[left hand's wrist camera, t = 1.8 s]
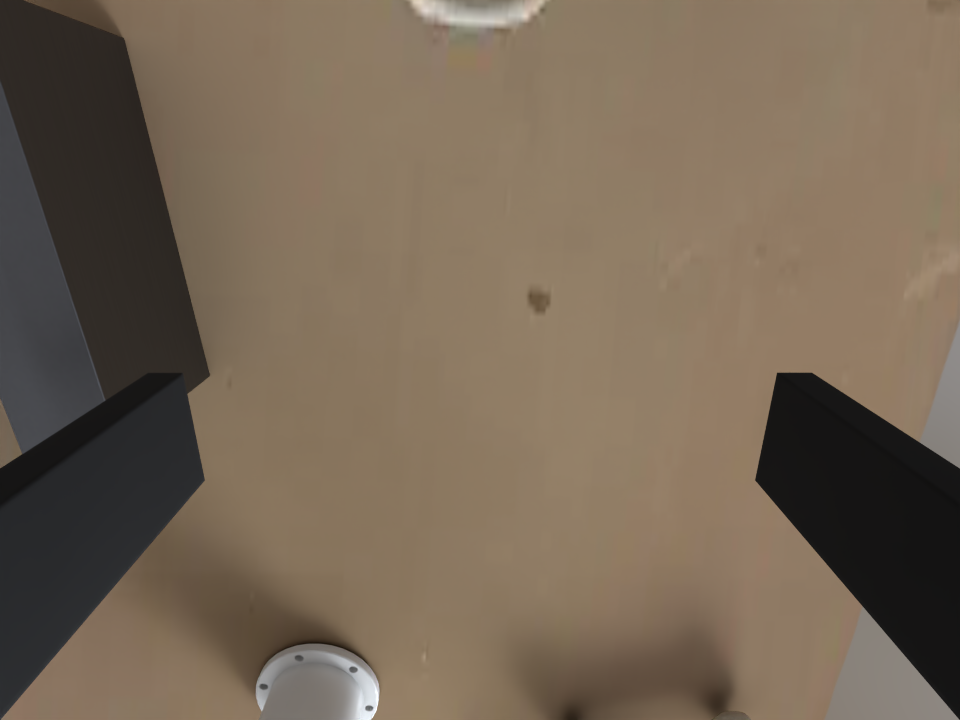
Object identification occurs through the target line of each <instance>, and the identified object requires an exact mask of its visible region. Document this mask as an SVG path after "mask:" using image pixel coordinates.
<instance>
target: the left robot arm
mask: <svg viewBox="0 0 960 720" xmlns="http://www.w3.org/2000/svg"><path fill="white" fill-rule="evenodd" d="M204 481H205V479H204V474H203V469H202V464H201V459H200V455H199V450H198V445H197V440H196V435H195V430H194V425H193V420H192V415H191V410H190V406H189V401H188V396H187V391H186V386H185V381H184V376H183V373H147V374H145V375H144V376H142V377H141V378H139V379H138V380H136V381H135V382H133V383H132V384H130V385H129V386H127V387H125V388H124V389H122V390H121V391H119V392H118V393H116V394H115V395H113V396H112V397H110V398H108V399H107V400H105V401H104V402H102V403H101V404H99V405H98V406H96V407H95V408H93V409H91V410H90V411H88V412H87V413H85V414H84V415H82V416H81V417H79V418H78V419H76V420H75V421H73V422H71V423H70V424H68V425H67V426H65V427H64V428H62V429H61V430H59V431H58V432H56V433H54V434H53V435H51V436H50V437H48V438H47V439H45V440H44V441H42V442H41V443H39V444H37V445H36V446H34V447H33V448H31V449H30V450H28V451H27V452H25V453H24V454H22V455H20V456H19V457H17V458H16V459H14V460H13V461H11V462H10V463H8V464H7V465H5V466H4V467H2V468H0V720H1V718H2V717H3V716H4V715H5V714H6V713H7V711H8V710H9V709H10V708H11V707H12V706H13V704H14V703H15V702H16V701H17V700H18V698H19V697H20V696H21V695H22V694H23V693H24V691H25V690H26V689H27V688H28V687H29V686H30V684H31V683H32V682H33V681H34V680H35V679H36V677H37V676H38V675H39V674H40V673H41V672H42V670H43V669H44V668H45V667H46V666H47V665H48V663H49V662H50V661H51V660H52V659H53V657H54V656H55V655H56V654H57V653H58V652H59V650H60V649H61V648H62V647H63V646H64V645H65V643H66V642H67V641H68V640H69V639H70V638H71V636H72V635H73V634H74V633H75V632H76V631H77V629H78V628H79V627H80V626H81V625H82V624H83V622H84V621H85V620H86V619H87V618H88V616H89V615H90V614H91V613H92V612H93V611H94V609H95V608H96V607H97V606H98V605H99V604H100V602H101V601H102V600H103V599H104V598H105V597H106V595H107V594H108V593H109V592H110V591H111V590H112V588H113V587H114V586H115V585H116V584H117V582H118V581H119V580H120V579H121V578H122V577H123V575H124V574H125V573H126V572H127V571H128V570H129V568H130V567H131V566H132V565H133V564H134V563H135V561H136V560H137V559H138V558H139V557H140V556H141V554H142V553H143V552H144V551H145V550H146V549H147V547H148V546H149V545H150V544H151V543H152V541H153V540H154V539H155V538H156V537H157V536H158V534H159V533H160V532H161V531H162V530H163V529H164V527H165V526H166V525H167V524H168V523H169V522H170V520H171V519H172V518H173V517H174V516H175V515H176V513H177V512H178V511H179V510H180V509H181V508H182V506H183V505H184V504H185V503H186V502H187V500H188V499H189V498H190V497H191V496H192V495H193V493H194V492H195V491H196V490H197V489H198V488H199V486H200V485H201V484H202V483H203V482H204ZM755 481H756V482H757V483H758V484H759V485H760V486H761V488H762V489H763V490H764V491H765V492H766V493H767V495H768V496H769V497H770V498H771V499H772V500H773V502H774V503H775V504H776V505H777V506H778V508H779V509H780V510H781V511H782V512H783V513H784V515H785V516H786V517H787V518H788V519H789V520H790V522H791V523H792V524H793V525H794V526H795V527H796V529H797V530H798V531H799V532H800V533H801V534H802V536H803V537H804V538H805V539H806V540H807V541H808V543H809V544H810V545H811V546H812V547H813V549H814V550H815V551H816V552H817V553H818V554H819V556H820V557H821V558H822V559H823V560H824V561H825V563H826V564H827V565H828V566H829V567H830V568H831V570H832V571H833V572H834V573H835V574H836V575H837V577H838V578H839V579H840V580H841V581H842V582H843V584H844V585H845V586H846V587H847V588H848V590H849V591H850V592H851V593H852V594H853V595H854V597H855V598H856V599H857V600H858V601H859V602H860V604H861V605H862V606H863V607H864V608H865V609H866V611H867V612H868V613H869V614H870V615H871V616H872V618H873V619H874V620H875V621H876V622H877V623H878V625H879V626H880V627H881V628H882V629H883V631H884V632H885V633H886V634H887V635H888V636H889V638H890V639H891V640H892V641H893V642H894V643H895V645H896V646H897V647H898V648H899V649H900V650H901V652H902V653H903V654H904V655H905V656H906V657H907V659H908V660H909V661H910V662H911V663H912V665H913V666H914V667H915V668H916V669H917V670H918V672H919V673H920V674H921V675H922V676H923V677H924V679H925V680H926V681H927V682H928V683H929V684H930V686H931V687H932V688H933V689H934V690H935V691H936V693H937V694H938V695H939V696H940V697H941V698H942V700H943V701H944V702H945V703H946V704H947V706H948V707H949V708H950V709H951V710H952V711H953V713H954V714H955V715H956V716H957V717H958V718H959V720H960V468H958V467H956V466H955V465H953V464H952V463H950V462H949V461H947V460H946V459H944V458H943V457H941V456H939V455H938V454H936V453H935V452H933V451H932V450H930V449H929V448H927V447H926V446H924V445H923V444H921V443H919V442H918V441H916V440H915V439H913V438H912V437H910V436H909V435H907V434H906V433H904V432H902V431H901V430H899V429H898V428H896V427H895V426H893V425H892V424H890V423H889V422H887V421H885V420H884V419H882V418H881V417H879V416H878V415H876V414H875V413H873V412H872V411H870V410H869V409H867V408H865V407H864V406H862V405H861V404H859V403H858V402H856V401H855V400H853V399H852V398H850V397H848V396H847V395H845V394H844V393H842V392H841V391H839V390H838V389H836V388H835V387H833V386H831V385H830V384H828V383H827V382H825V381H824V380H822V379H821V378H819V377H818V376H816V375H814V374H813V373H777V376H776V381H775V386H774V391H773V396H772V401H771V406H770V410H769V415H768V420H767V425H766V430H765V435H764V440H763V445H762V450H761V455H760V459H759V464H758V469H757V474H756V479H755Z"/></svg>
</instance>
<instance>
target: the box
mask: <svg viewBox="0 0 960 720" xmlns="http://www.w3.org/2000/svg"><path fill="white" fill-rule="evenodd" d="M147 373H183V376H184V381H185V386H186V391H187V394H188V393H189V392H190V391H192V390H193V389H194V388H195V387H197V386H198V385H199V384H200V383H202V382H203V381H204V380H205V379H207V378H208V377H209V376H210V375H209V371H208V367H207V363H206V359H205V355H204V351H203V347H202V343H201V339H200V335H199V331H198V327H197V323H196V320H195V316H194V312H193V308H192V304H191V300H190V296H189V292H188V288H187V284H186V280H185V276H184V272H183V268H182V265H181V261H180V257H179V253H178V249H177V245H176V241H175V237H174V233H173V229H172V225H171V221H170V217H169V213H168V209H167V206H166V202H165V198H164V194H163V190H162V186H161V182H160V178H159V174H158V170H157V166H156V162H155V158H154V154H153V150H152V147H151V143H150V139H149V135H148V131H147V127H146V123H145V119H144V115H143V111H142V107H141V103H140V99H139V95H138V91H137V88H136V84H135V80H134V76H133V72H132V68H131V64H130V60H129V56H128V52H127V48H126V44H125V40H124V38H122V37H119V36H117V35H114V34H111V33H109V32H106V31H104V30H101V29H98V28H96V27H93V26H90V25H88V24H85V23H82V22H80V21H77V20H74V19H72V18H69V17H66V16H64V15H61V14H58V13H56V12H53V11H50V10H48V9H45V8H42V7H40V6H37V5H34V4H32V3H29V2H26V1H24V0H0V398H1V401H2V403H3V406H4V408H5V411H6V414H7V416H8V419H9V421H10V424H11V426H12V429H13V431H14V434H15V436H16V439H17V441H18V444H19V446H20V449H21V451H22V454H24V453H25V452H27V451H28V450H30V449H31V448H33V447H34V446H36V445H37V444H39V443H41V442H42V441H44V440H45V439H47V438H48V437H50V436H51V435H53V434H54V433H56V432H58V431H59V430H61V429H62V428H64V427H65V426H67V425H68V424H70V423H71V422H73V421H75V420H76V419H78V418H79V417H81V416H82V415H84V414H85V413H87V412H88V411H90V410H91V409H93V408H95V407H96V406H98V405H99V404H101V403H102V402H104V401H105V400H107V399H108V398H110V397H112V396H113V395H115V394H116V393H118V392H119V391H121V390H122V389H124V388H125V387H127V386H129V385H130V384H132V383H133V382H135V381H136V380H138V379H139V378H141V377H142V376H144V375H145V374H147Z"/></svg>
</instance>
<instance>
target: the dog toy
mask: <svg viewBox="0 0 960 720" xmlns="http://www.w3.org/2000/svg"><path fill="white" fill-rule="evenodd" d="M712 720H750V718H749V717H748V716H747V715H746V714H745V713H742V712H738V711H725V712H722V713H720V714H719V715H717V716H716V717H715V718H714V719H712Z"/></svg>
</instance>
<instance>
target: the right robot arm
mask: <svg viewBox="0 0 960 720" xmlns="http://www.w3.org/2000/svg"><path fill="white" fill-rule="evenodd" d="M379 692H380V691H379V683H378V681H377V678H376V676H375V674H374V672H373V671H372V669H371V668H370V667H369V666H368V665H367V664H366V663H365V662H364V661H363V660H362V659H361V658H359V657H358V656H356V655H355V654H353V653H351V652H349V651H347V650H345V649H343V648H339V647H336V646H333V645H326V644H303V645H296V646H293V647H290V648H287V649H285V650H283V651H281V652H279V653H277V654H276V655H275V656H273V657H272V658H271V659H270V660H269V661H268V662H267V663H266V664H265V666H264V667H263V669H262V671H261V673H260V676H259V678H258V681H257V684H256V698H257V703H258V705H259V707H260V709H261V711H262V713H261V715H260V718H259V720H371V719H372V717H373V716H374V714H375V712H376V709H377V705H378V700H379Z"/></svg>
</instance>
